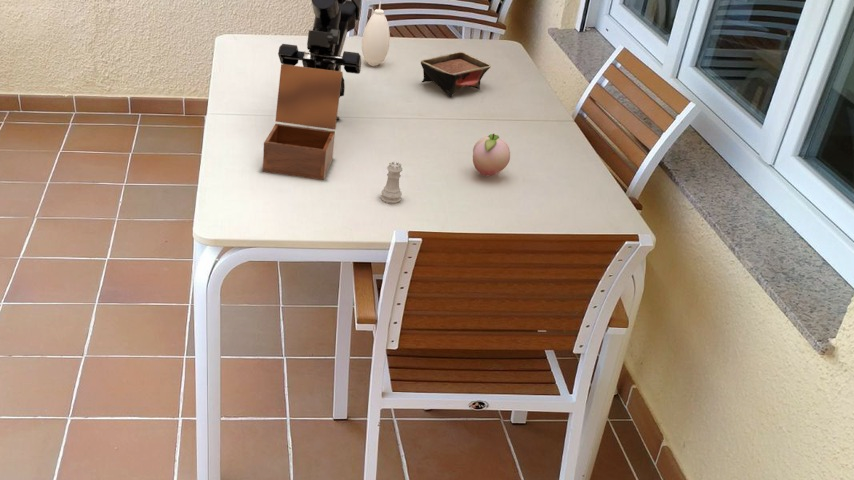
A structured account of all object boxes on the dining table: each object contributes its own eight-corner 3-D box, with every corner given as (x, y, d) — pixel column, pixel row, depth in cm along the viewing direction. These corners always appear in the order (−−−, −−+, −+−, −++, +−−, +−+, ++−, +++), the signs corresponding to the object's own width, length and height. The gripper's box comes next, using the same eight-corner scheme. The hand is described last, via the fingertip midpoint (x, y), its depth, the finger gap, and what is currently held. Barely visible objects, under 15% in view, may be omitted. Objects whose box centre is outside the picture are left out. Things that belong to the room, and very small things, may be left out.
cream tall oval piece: (360, 59, 280) (367, -5, 270) (387, 62, 280) (395, -2, 269) (358, 67, 274) (365, 2, 264) (386, 70, 273) (393, 5, 263)
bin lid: (341, 71, 211) (342, 71, 212) (281, 64, 213) (281, 64, 213) (334, 129, 215) (335, 129, 216) (275, 121, 217) (275, 121, 218)
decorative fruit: (505, 187, 213) (514, 144, 207) (468, 182, 214) (476, 139, 208) (505, 170, 220) (514, 128, 215) (469, 165, 221) (476, 123, 216)
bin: (323, 180, 210) (326, 150, 206) (262, 171, 212) (264, 142, 208) (332, 159, 220) (334, 131, 216) (274, 151, 222) (275, 123, 218)
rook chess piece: (378, 194, 206) (382, 159, 201) (399, 195, 206) (403, 160, 202) (382, 204, 202) (386, 168, 198) (403, 204, 203) (407, 168, 198)
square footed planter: (489, 99, 265) (498, 61, 260) (442, 99, 255) (451, 60, 250) (453, 86, 275) (460, 50, 270) (406, 86, 265) (414, 48, 260)
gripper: (281, 8, 216) (268, 75, 214) (364, 18, 213) (351, 85, 212) (287, 30, 227) (275, 94, 225) (366, 40, 224) (354, 104, 223)
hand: (313, 94), depth 221 cm, fingers closed
